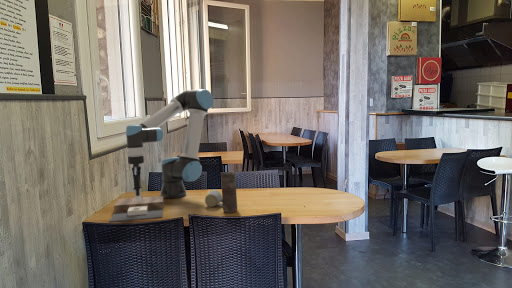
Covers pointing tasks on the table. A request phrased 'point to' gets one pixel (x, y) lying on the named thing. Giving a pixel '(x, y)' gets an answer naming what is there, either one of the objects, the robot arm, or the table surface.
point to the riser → (139, 203)
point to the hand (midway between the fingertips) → (138, 201)
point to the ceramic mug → (213, 198)
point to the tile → (137, 210)
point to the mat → (136, 216)
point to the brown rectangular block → (229, 192)
